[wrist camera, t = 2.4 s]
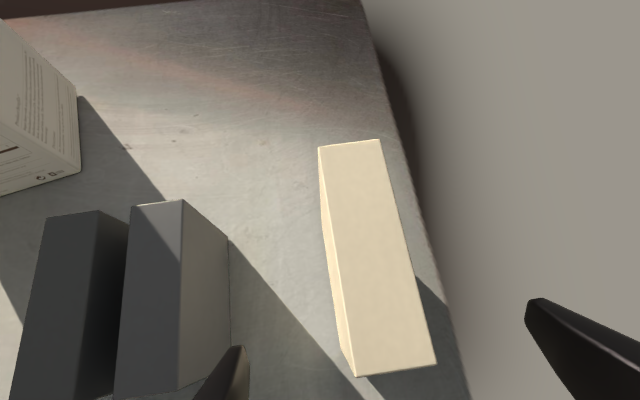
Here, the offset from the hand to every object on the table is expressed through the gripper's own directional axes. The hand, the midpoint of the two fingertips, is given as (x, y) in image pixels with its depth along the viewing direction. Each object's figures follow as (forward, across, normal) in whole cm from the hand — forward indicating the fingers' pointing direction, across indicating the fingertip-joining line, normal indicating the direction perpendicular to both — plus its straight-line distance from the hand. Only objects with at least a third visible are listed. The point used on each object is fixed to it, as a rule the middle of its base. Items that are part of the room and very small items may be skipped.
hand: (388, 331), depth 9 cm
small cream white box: (+9, 0, +5) cm, 10 cm away
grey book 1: (+9, +9, +5) cm, 14 cm away
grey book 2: (+9, +13, +5) cm, 17 cm away
